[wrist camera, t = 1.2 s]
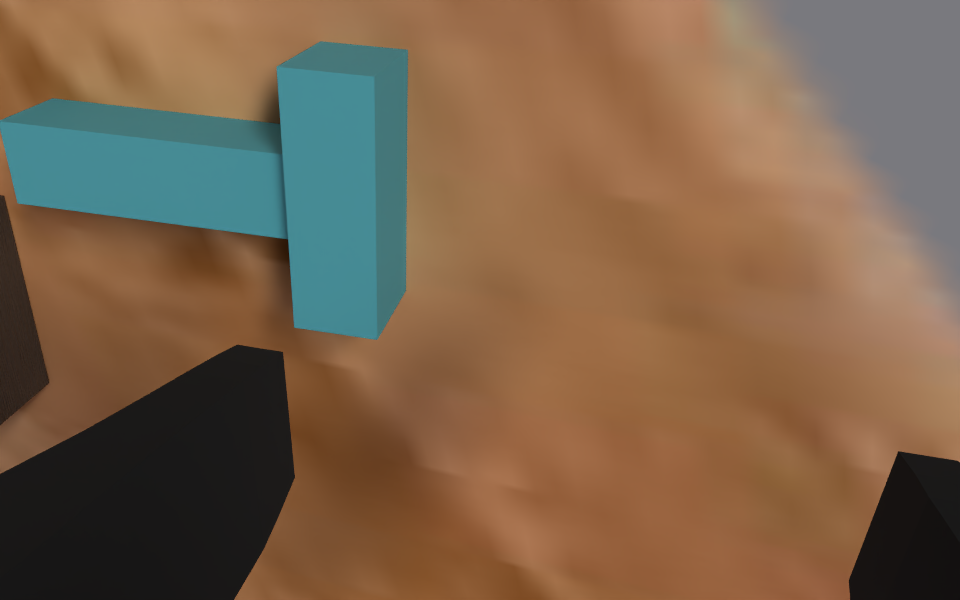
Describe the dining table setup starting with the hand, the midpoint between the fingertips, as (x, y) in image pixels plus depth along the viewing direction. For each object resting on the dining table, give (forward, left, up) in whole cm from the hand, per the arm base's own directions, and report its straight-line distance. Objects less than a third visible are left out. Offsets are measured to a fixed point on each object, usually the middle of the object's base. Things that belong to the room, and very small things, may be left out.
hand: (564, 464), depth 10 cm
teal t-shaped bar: (-1, +9, -10) cm, 14 cm away
